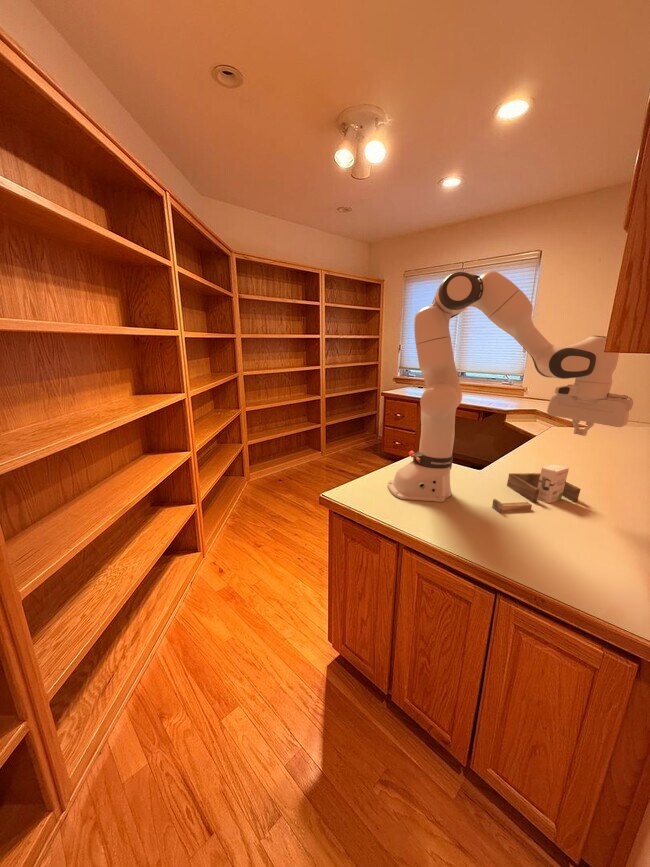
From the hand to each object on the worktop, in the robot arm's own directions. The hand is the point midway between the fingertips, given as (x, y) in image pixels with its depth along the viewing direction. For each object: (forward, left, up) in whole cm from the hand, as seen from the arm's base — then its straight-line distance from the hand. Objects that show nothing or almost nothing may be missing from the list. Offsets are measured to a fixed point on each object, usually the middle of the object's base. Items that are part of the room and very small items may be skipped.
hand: (579, 434), depth 103 cm
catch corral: (-1, +9, -25) cm, 26 cm away
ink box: (-1, +5, -25) cm, 26 cm away
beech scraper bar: (-19, -2, -25) cm, 32 cm away
